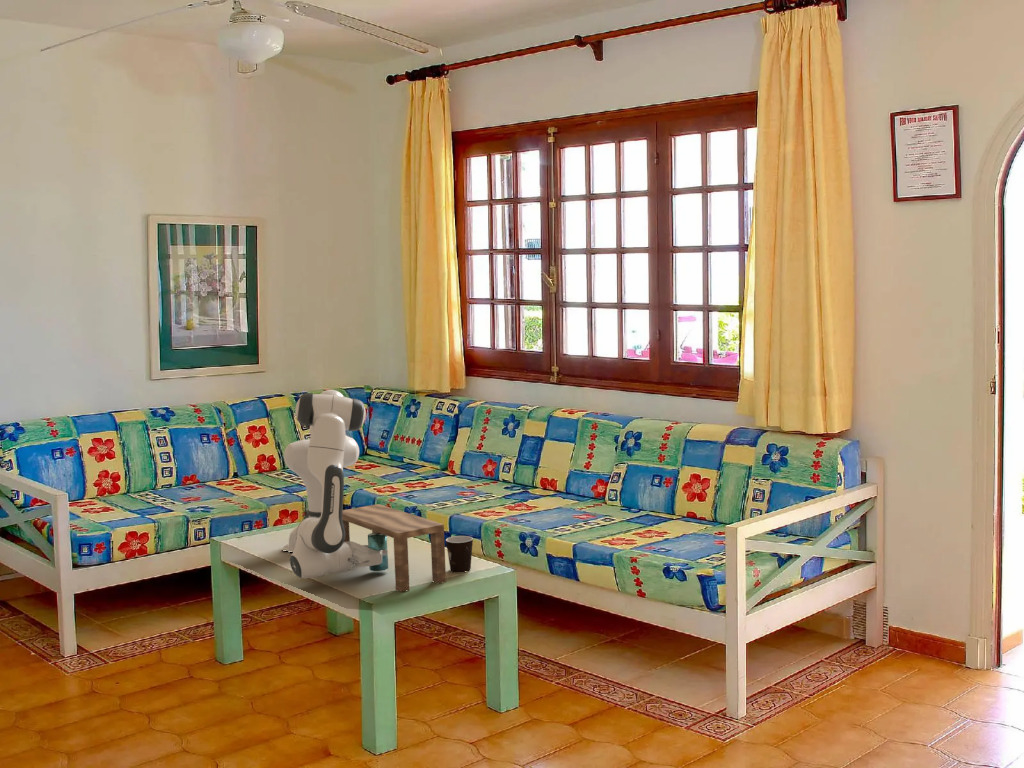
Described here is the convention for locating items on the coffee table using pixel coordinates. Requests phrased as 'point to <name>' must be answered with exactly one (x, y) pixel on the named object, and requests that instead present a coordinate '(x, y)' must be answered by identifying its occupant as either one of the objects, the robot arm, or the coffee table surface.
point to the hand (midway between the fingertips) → (380, 549)
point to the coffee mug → (459, 553)
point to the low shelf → (400, 537)
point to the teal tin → (378, 549)
